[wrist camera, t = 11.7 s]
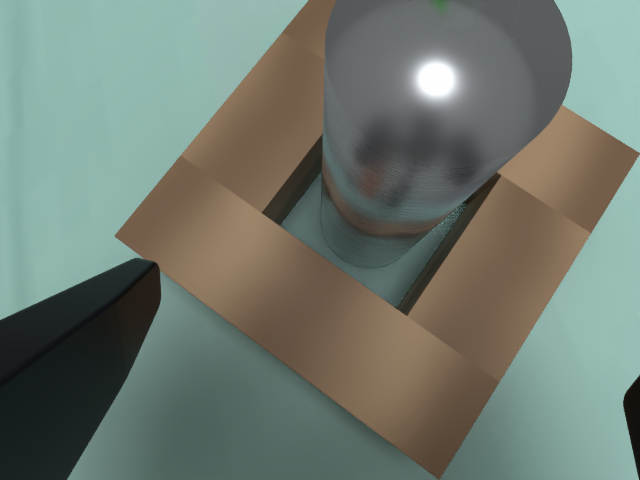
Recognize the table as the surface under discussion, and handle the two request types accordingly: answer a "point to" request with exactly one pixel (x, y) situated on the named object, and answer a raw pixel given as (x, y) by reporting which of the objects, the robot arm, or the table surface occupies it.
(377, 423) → the collar block
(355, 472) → the table surface
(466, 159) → the grey glossy round cylinder
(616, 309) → the table surface
